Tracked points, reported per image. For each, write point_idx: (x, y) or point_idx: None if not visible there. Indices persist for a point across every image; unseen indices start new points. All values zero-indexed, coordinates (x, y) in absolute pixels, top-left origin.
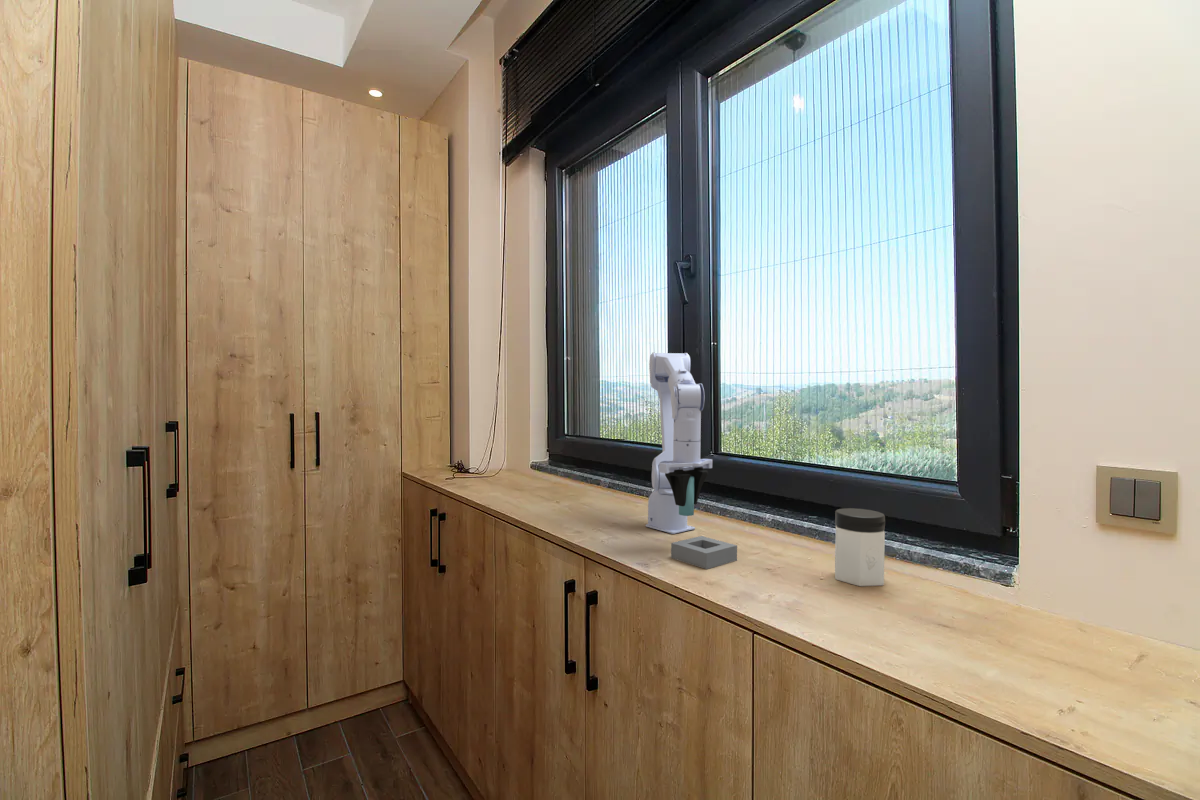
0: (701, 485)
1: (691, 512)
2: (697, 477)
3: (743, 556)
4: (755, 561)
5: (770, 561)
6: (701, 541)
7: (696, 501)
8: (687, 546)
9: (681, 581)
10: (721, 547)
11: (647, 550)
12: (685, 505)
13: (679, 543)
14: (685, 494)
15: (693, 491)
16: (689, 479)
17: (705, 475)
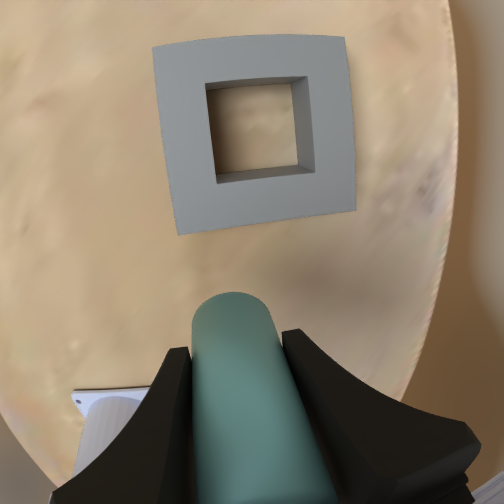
0: (128, 431)
1: (232, 301)
2: (174, 500)
3: (103, 88)
4: (114, 28)
5: (75, 14)
6: (223, 182)
7: (175, 354)
8: (342, 140)
9: (434, 40)
10: (235, 53)
11: (335, 294)
12: (273, 335)
13: (338, 188)
14: (315, 368)
15: (224, 395)
16: (297, 477)
17: (86, 496)
